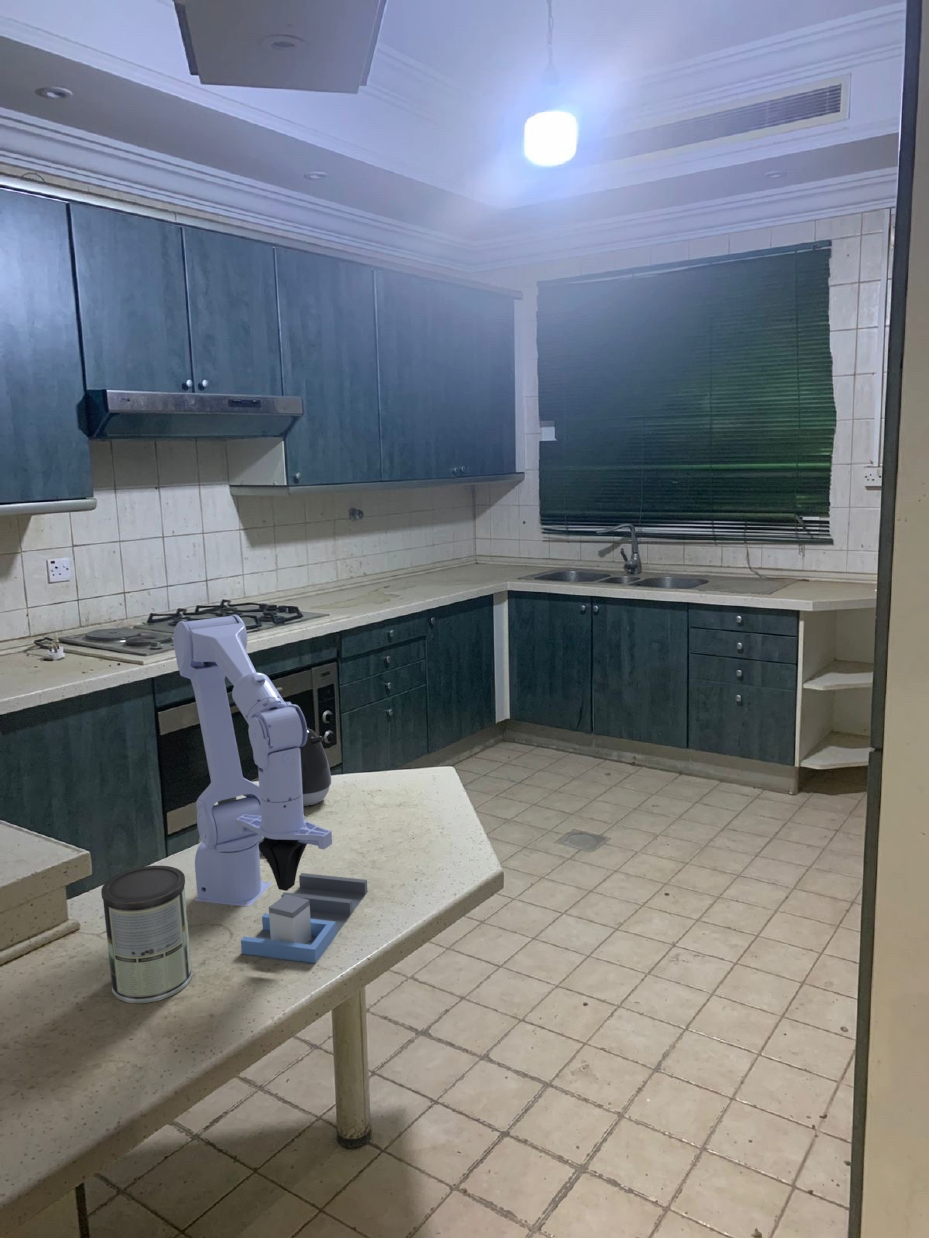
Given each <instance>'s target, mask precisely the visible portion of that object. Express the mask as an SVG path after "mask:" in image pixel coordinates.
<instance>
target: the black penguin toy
mask: <svg viewBox="0 0 929 1238" xmlns="http://www.w3.org/2000/svg"><path fill="white" fill-rule="evenodd" d="M323 741H324V737H323V736H321V735H320V736H318V735H317V733H316V732H315V730H313V729H310V727H307V741H306V743H305V745H304V746H300V747H299V748H300V754H301V773H302V793H303V807H310V806H309V805H311V806H314V805H317V804H319V803H320V802H322V801H323V800H324V799H325V798H326V796H327V795H328V792H329V790H330V786H331V785H332V775H331V773H332V772H331V770H330V765H329V760H328V758H327V754H326V752H325V747H323V744H322V742H323Z"/></svg>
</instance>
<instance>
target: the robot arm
mask: <svg viewBox="0 0 929 1238" xmlns="http://www.w3.org/2000/svg"><path fill="white" fill-rule="evenodd" d="M246 627H247V626H246V624H245V622H244V620H243V619H242V618H241V617H240V616H239V615H238V614H231V615H228V616H221V617H214V618H213V617H211V618H204V619H198V620H189V621H185V620H181V621H179V622H177V624H176V625H175V627H174V630H173V639H172V640H173V641H172V642H173V643H172V644H173V649H174V654H175V659H176V664H177V669H178V670H179V675H180V677H183V678H187V679H189V680H190V682H191V686H192V688H193V693H194V699H195V703H196V709H197V714H198V718H199V725H200V730H201V735H202V740H203V746H204V752H205V757H206V764H207V768H208V773H209V776H210V777H209V778H210V784H208V786H207V787H206V788H205V790H203V792H201V794H200V795H199V797H197V800H196V803H195V805H196V813H197V816H196V824H197V831H198V835H199V838H200V840H201V842H200V844H199V845H198V847H197V849H196V852H195V857H194V868H195V869H194V871H195V882H196V883H195V884H196V885H195V887H196V896H197V897H196V898H194V900H195V902H196V901H197V902H203V903H212V904H221V905H222V904H224V905H232V906H238V907H251V906H252V905H253V904H254V903H255V902H256V901H257V900H258V899H259V898H260V897H261V896H262V895H263V894H264V893H265V891H266V890H267V889H268V888H269V887H270V886H272V884H273V883H272V882H270V881H263V880H262V877H261V876H262V875H261V858H260V855H259V850H260V851H261V853H262V855H263V857H264V858H265V860H266V862H267V863H268V865H269V867H270V869H271V872H272V874H273V877H274V879H275V882H276V885H277V888H278V890H280V891H285V892H286V891H289V890H290V889H291V888H293V887H294V886H295V884H296V878H297V873H298V868H299V865H300V862H301V858H302V855H303V853H304V851H305V849H306V848H307V845H313V846H317V847H318V849H319V850H326V849H327V848H328V847H330V846H331V845H333V835H332V834H333V833H332V830H329V829H325V828H323V827H321V826H318V825H316V824H315V823H312V822H309V821H307V820H306V819H305V815H304V813H305V812H304V806H303V793H302V773H301V754H300V748H299V747H300V746H304V745H305V743H306V741H307V728H308V726H307V721H306V718H305V715H304V713H303V711H302V709H301V707H300V706H299V705H298V704H293V703H292V702H291V701H285V700H284V699H283V697H282V696H281V694H280V693H279V691H278V689H277V687H276V686H275V685H274V683H273V682H272V681H271V679H270V677H269V676H267V674H264V673H262V672H257V670H256V668H255V667H254V665H253V662H252V661H251V659H250V657H249V655H248V652H247V645H248V632H247V628H246ZM226 678H227V680H228V681H229V682H230V683H231V684H232V686H233V688H232V691H231V696H232V697H231V698H232V700H233V702H234V703H235V705H236V707H237V708H238V710H239V712H240V714H242V716H243V718H244V720H245V721H246V723H247V725H248V729H247V730H248V738H249V742H250V746H251V748H252V754H253V757H252V758H253V760H254V765H256V766H257V772H258V784H257V783H255V782H253V781H250V780H248V779H247V778H245V777H244V776H243V772H242V771H243V770H242V766H241V760H240V755H239V751H238V750H239V749H238V744H237V739H236V734H235V729H234V723H233V717H232V712H231V709H230V703H229V697H228V693H227V692H228V691H227V687H226V682H225V681H226V680H225V679H226ZM242 796H243V797H242ZM234 797H236V799H237V800H233V801H229V802H225V803H221V804H218V802H219V801H221V800H225V799H229V798H234ZM237 797H242V798H237ZM216 803H217V804H216ZM262 836H264V839H263V841H262ZM259 841H262V842H261V843H260V844H259Z"/></svg>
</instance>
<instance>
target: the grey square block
mask: <svg viewBox="0 0 929 1238" xmlns="http://www.w3.org/2000/svg"><path fill="white" fill-rule="evenodd" d="M268 914H269V919H270V935H271V940H276V941H284V942H292V943H300V944H306V943H307V942H308V941H310V940H311V921H310V902H309V900H308V899H304V898H299V897H295V896H291V895H285V896H283V897H280V898H279V899H278V900H277V901H275V902H274V903H273V904H271V905H270V906H269V907H268Z"/></svg>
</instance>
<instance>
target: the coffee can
mask: <svg viewBox="0 0 929 1238" xmlns="http://www.w3.org/2000/svg"><path fill="white" fill-rule="evenodd" d="M185 884H186V875H185V874H184V872H183V871H182V870H180V869H179V868H177V867H173V866H168V865H146V866H145V865H144V866H140V867H136V868H132V869H128V870H126V871H123V872H120V873H118V874H116V875H114V876H112V877H111V878H110V879H107V881H106V882H105V883H104V884H103V886H102V887H101V890H100V891H101V899H102V900H103V901H102V902H103V911H104V919H105V920H104V921H105V923H104V924H105V931H106V940H107V952H108V959H109V962H108V963H109V968H110V969H109V971H110V978H111V992H112V994H113V996H114V997H115V998H116V999H118V1000H120V1001H122V1002H124V1003H129V1004H149V1003H154V1002H159V1001H161V1000H165V999H167V998H170V997H172V996H174V995H176V994H178V993H180V991H182V990H183V989H184V988H185V987H187V985H189V983H190V982H191V979H192V978H193V969H192V960H191V959H192V958H191V948H190V937H189V925H188V911H187V901H186V890H185V889H186V887H185Z"/></svg>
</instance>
